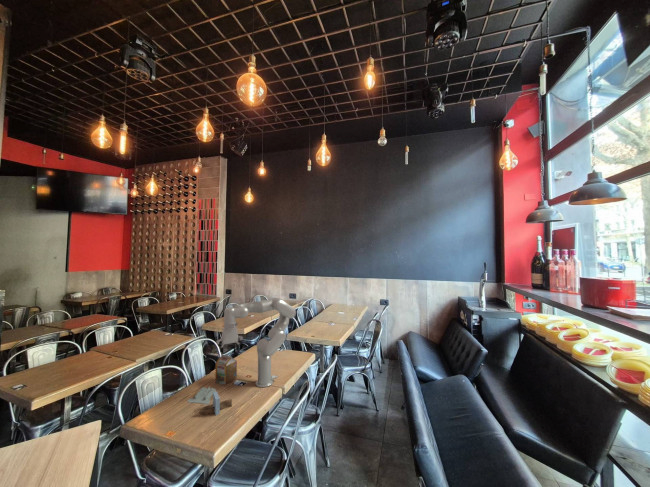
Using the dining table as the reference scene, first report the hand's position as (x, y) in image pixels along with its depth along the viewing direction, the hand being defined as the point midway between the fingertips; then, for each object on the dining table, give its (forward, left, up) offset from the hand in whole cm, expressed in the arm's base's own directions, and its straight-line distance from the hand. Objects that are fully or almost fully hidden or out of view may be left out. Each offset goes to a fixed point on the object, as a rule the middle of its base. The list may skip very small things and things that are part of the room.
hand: (229, 351), depth 177 cm
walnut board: (+11, +15, -28) cm, 34 cm away
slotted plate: (+11, +15, -28) cm, 34 cm away
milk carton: (-2, -21, -29) cm, 36 cm away
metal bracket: (+15, -5, -29) cm, 33 cm away
